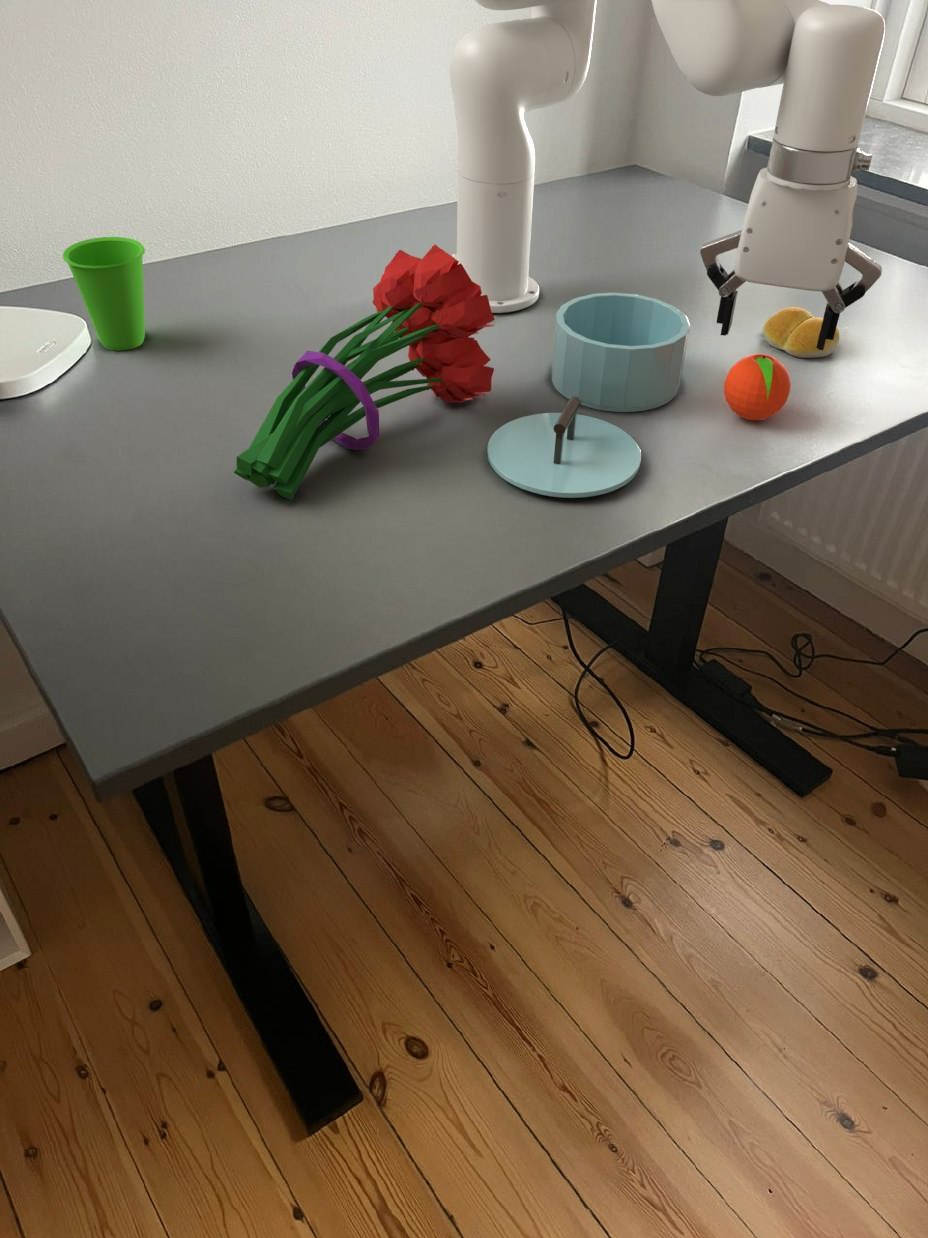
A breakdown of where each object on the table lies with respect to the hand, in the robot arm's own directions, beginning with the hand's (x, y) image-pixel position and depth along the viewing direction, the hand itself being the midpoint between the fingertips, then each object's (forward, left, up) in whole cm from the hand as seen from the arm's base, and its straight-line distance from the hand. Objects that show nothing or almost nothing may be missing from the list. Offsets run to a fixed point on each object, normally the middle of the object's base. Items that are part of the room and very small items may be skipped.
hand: (772, 337), depth 104 cm
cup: (-74, -9, -10) cm, 75 cm away
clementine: (0, 0, -10) cm, 10 cm away
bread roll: (+3, +21, -10) cm, 23 cm away
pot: (-16, +3, -10) cm, 19 cm away
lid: (-17, -16, -9) cm, 25 cm away
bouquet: (-37, -20, -10) cm, 43 cm away
